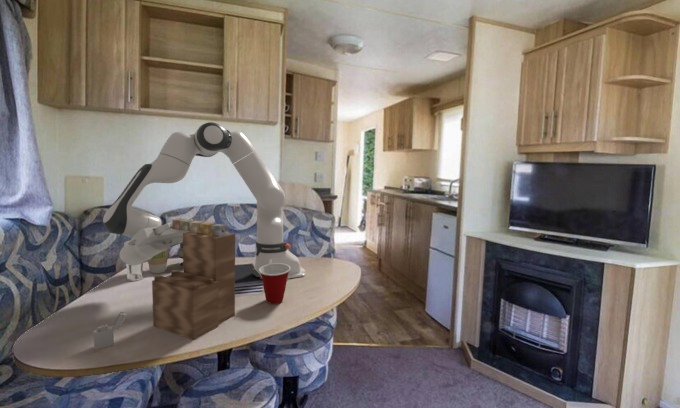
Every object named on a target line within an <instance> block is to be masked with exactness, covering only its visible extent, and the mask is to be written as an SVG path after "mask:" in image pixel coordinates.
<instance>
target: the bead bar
mask: <svg viewBox="0 0 680 408" xmlns="http://www.w3.org/2000/svg"><path fill="white" fill-rule="evenodd" d="M171 221H172V222H171V223H172V225H173V228H172V229H175V230H182V231H190V232H194V233H199V232H201V234H207V235H209V234H212V235H213V236H219V237H220V236H224V235H227V233H228V225H227V224H223V223H218V224H217V223H215V222H205V221H201V220H194V219H193V220H189V219H187V218H173V219H171Z"/></svg>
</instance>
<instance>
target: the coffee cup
mask: <svg viewBox="0 0 680 408" xmlns="http://www.w3.org/2000/svg"><path fill="white" fill-rule="evenodd" d="M169 249H170V248H168V249H166V250H165V251H162V252H161V253H159V254H157V255H155V256H153V257H152V258H151V259H149V260H148V261H147V263H148V269H149V273H152V274H160V273H164V272H166V271H167V265H168V257H169Z"/></svg>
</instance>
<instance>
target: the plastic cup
mask: <svg viewBox="0 0 680 408" xmlns="http://www.w3.org/2000/svg"><path fill="white" fill-rule="evenodd" d="M289 271H290V266H289V265H286V264H281V263H273V264H267V265H264V266H262V267H261V268H259V272H260V273H261V276H262V278H261V280H262V286H263V290H264V291H263V292H264V296H265V300H266V303H268V304H272V305H273V304H275V305H276V304H280V303H282V302H283V300H284V296H285V292H286V287H287V281H288V279H289V278H288V273H289ZM287 278H288V279H287Z"/></svg>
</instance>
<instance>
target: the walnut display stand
mask: <svg viewBox="0 0 680 408" xmlns="http://www.w3.org/2000/svg"><path fill="white" fill-rule="evenodd" d="M182 262H183V267H182V268H183V269H182V270H183V271H179V270H175V269H173V270H171V271H170V274H169V275H166V276H162V275H158V274H157V275H153V276H154V277H153V280H151V282H152V283H151V287H152V289H151V290H152V296H151V297H152V326H153V328H158V329H161V330H162V331H163V330H164V331H166V332H170V333H173V334H176V335H178V336H180V337H181V336H182V337H185V338H187V339H191V340H192V341H193V340H196V339H198V338H200V337H202V336H203V335H205V334H207V333H209V332H210V331H211V332H212V330H214V329H216V328H218V327H219V325H220V324H222V323H223V322H225V321H227V320H229V319H231V318H233V317H235V316H236V315H235V313H236V310H235V309H236V233H232V232H227V235H224V236H220V237H219V236H213V235H212V234H209V235H207V234H201V232H199V233H194V232H186V233H183V259H182Z"/></svg>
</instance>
